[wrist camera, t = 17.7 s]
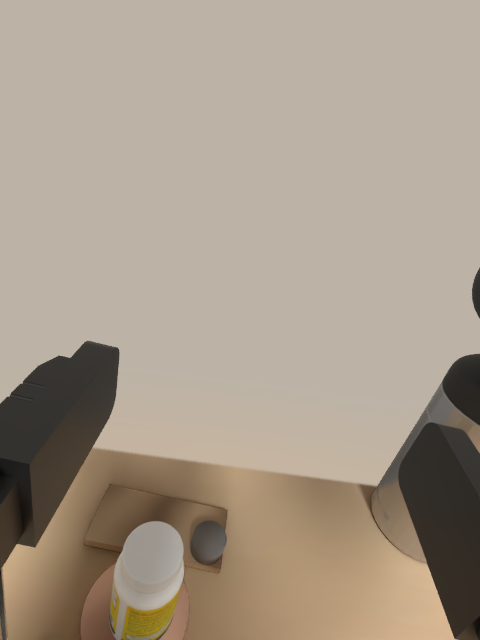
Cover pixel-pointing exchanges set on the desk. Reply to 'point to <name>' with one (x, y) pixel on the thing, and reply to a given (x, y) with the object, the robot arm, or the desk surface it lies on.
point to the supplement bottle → (147, 582)
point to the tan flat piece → (125, 516)
